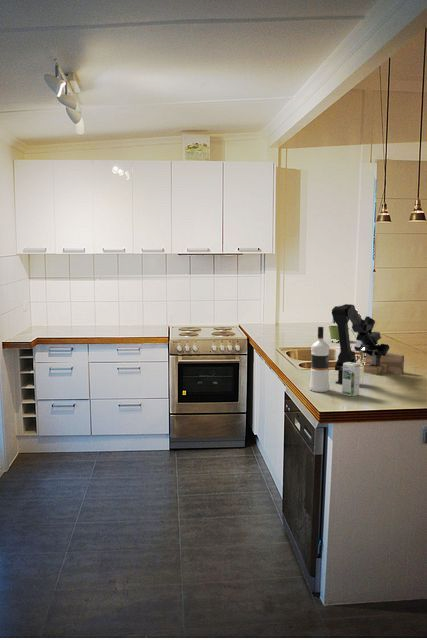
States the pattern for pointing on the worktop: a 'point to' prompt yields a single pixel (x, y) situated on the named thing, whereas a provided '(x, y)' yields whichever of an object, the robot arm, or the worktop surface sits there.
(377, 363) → the grey bar
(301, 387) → the worktop surface
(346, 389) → the syrup box
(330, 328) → the plant pot
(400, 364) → the wooden socket
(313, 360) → the vodka
